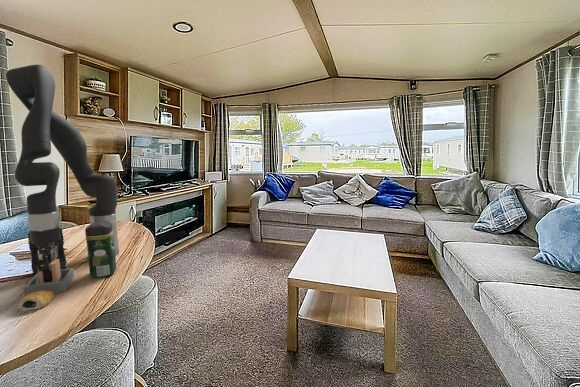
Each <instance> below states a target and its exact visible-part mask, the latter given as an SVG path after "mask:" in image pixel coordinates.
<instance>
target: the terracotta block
mask: <svg viewBox="0 0 580 387" xmlns="http://www.w3.org/2000/svg"><path fill="white" fill-rule="evenodd" d="M51 266H52V269H51V270H52V277H53V280H52V281H51V282H46V283H52V282H58V280H59V279H60V277H61V271H60V262H59V259H56V260H53V262H52V264H51ZM44 267H46V265H44ZM38 274H39V282H40V284H44V283H45V282H44V281H43V273H42V271H40V272H39V270H38Z"/></svg>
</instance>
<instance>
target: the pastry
mask: <svg viewBox="0 0 580 387" xmlns="http://www.w3.org/2000/svg"><path fill="white" fill-rule="evenodd" d="M54 295H55V293H54V292H53V291H52V290H41V291H36V292H33V293H30V294H28V295H26V296H25V295H24V296H23V297H22V298H20V302H18V305H17V307H16V308H17V309H18V311H20V312H26V311H35V310H40V309H43V308H45V307H47V306H48V305H49V304H50V303H51V302H52V300H53V299H54V297H55V296H54Z"/></svg>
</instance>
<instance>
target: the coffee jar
mask: <svg viewBox="0 0 580 387" xmlns="http://www.w3.org/2000/svg"><path fill="white" fill-rule="evenodd" d="M112 226H113V225H112V223H110V222H108V221H95V222H94V223H92V224H90V223H89V225H87V227H85V228H84V232H85V240H86V246H87V247H86V248H87V256H88V268H89V276H90V278H92V279H93V278H97V279H100V278H101V279H102V278H106V277H110V276H113V275H114V273H115V272H117V260H116V259H117V258H116V255H115V249H114V238H113V227H112Z"/></svg>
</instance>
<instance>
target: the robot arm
mask: <svg viewBox="0 0 580 387" xmlns="http://www.w3.org/2000/svg"><path fill="white" fill-rule="evenodd" d="M5 78H6V82H7V84H8V87H9V88H10V89H11V90H12V92H13V93H14V95H15V96H16V97H17V98H18V99H19V101H20V102H21V103H22V104H23V106H24V107H25V108H26V109H27V110H28V111H29V112H28V114H27V116H26V117H25V119H24V121H23V123H22V127H21V153H20V157H19V159H18V162H17V165H16V168H15V170H14V177H15V178H14V179H15V180H16V182H17V183H18V184H19V185H21V186H22V187H34V186H35V187H36V186H37V187H38V186H39V187H40V186H45V187H46V188H45V190H43V191H39V192H35V193H32V194H31V193H30V194H28V195H27V196H26V206H27V213H28V216H27V217H28V220H27V223H28V233H29V232H30V240H31V243H32V244H38V245H39V249H38V254H36V255H35V258H36V262H37V266H38V270H39V272H40V271H42V273H43V281H44V282H45V283H46V282H51V281H52V280H53V277H52V270H51V269H52V266H51V264H52V262H53V260H56V259H59V258H58V242H56V241H58V240H60V239H61V235H60V226H61V225H60V218H59V215H58V210H57V200H56V194H57V189H58V182H59V179H60V174H61V171H60V168H59V167H58V165H57V164H56V163H55V162H50V161H46V162H45V161H44V162H36V160H37V159H41V158H46V157H49V156H50V155H51V153H52V145H51V144H53V146H54V147H55V149H56V150H57V151H58V153H59V154H60V156H61V157H62V159H63V160H64V161H65V163H66V165H67V166H68V168H69V169H70V170H71V172H72V174H73V176H74V177H75V179H76V181H77V183H78V185H79V187H80V188H81V190H82V192H83V193H84V194H85V195H86V196H88V197H91V198H96V199H95V200H96V201H95V205H93V206H91V207H89V209H88V214H89V225H90V224H92V223H94V222H95V221H108V222H110V223H112V225H113V226H112V227H113V238H114V249H115V256H118V254H120V248H119V236H118V234H119V233H118V227H117V226H118V225H117V223H118V222H117V215H116V211H117V210H116V209H117V205H118V195H117V194H118V193H117V191H118V188H117V183H116V180H115V179H114V177H112V176H111V175H108V174H97V173H96V172H95V171H94V169H93V168H92V166H91V164H90V162H89V160H88V147H87V143H86V141H85V139H84V137H83V136H82V134H81V133H80V131H79V130H78V128H77V127H76V126H75V124H74V123H72V122H70V121H69V120H68V119H67V118H65V117H63V116H61V115H59V114H58V113H57V112H55V111H53V106H54V100H55V99H54V98H55V94H56V82H55V79H54V78H55V77H54V76H53V74H52V73H51V71H50V70H49V69H48V68H47V67H46V66H44V65H41V64H30V65H25V66H21V67H16V68H15V67H14V68H11V69H8V70H7V71H6V74H5ZM34 161H35V162H34ZM44 265H46V267H44Z"/></svg>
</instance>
